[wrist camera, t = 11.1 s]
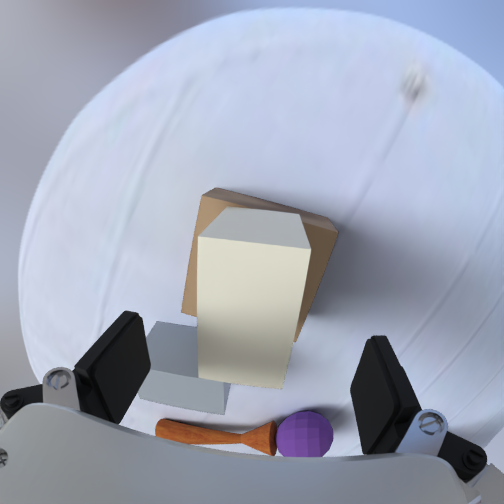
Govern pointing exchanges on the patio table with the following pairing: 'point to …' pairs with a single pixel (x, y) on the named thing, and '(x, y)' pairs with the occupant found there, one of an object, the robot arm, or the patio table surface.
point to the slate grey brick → (180, 372)
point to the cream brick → (249, 295)
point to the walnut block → (314, 225)
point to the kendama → (262, 435)
